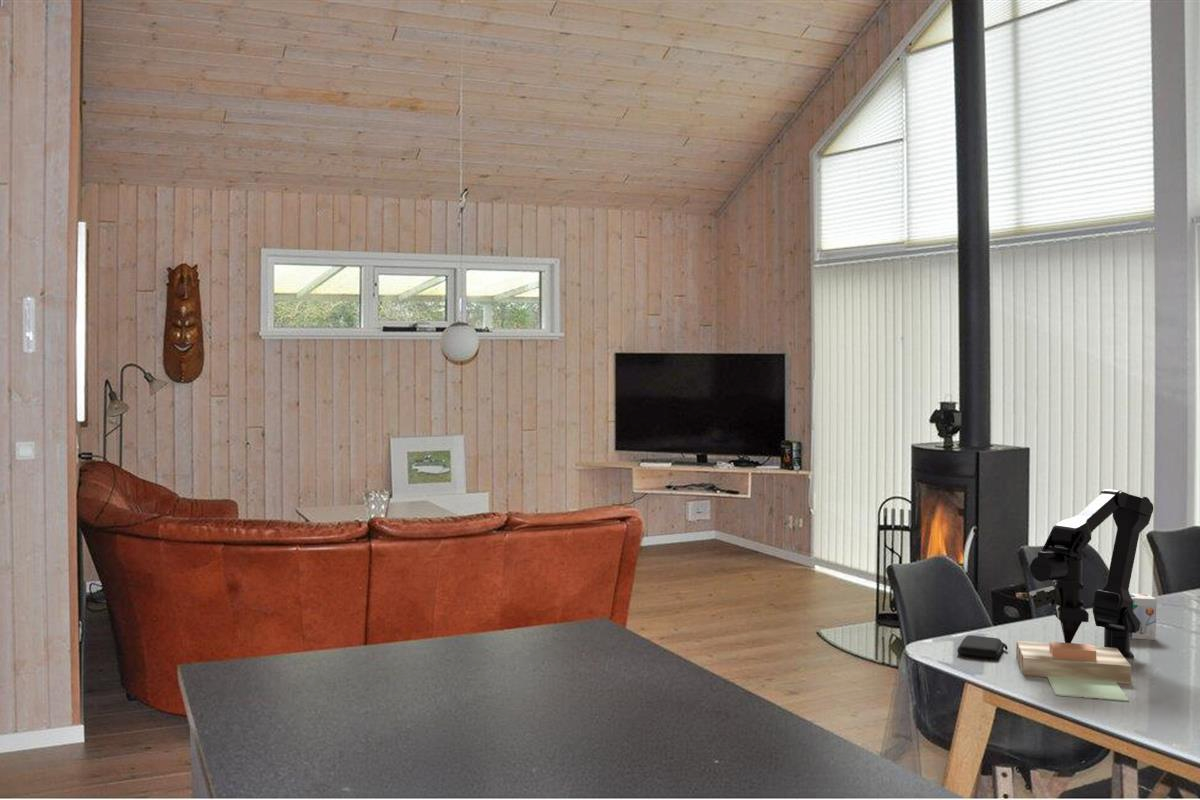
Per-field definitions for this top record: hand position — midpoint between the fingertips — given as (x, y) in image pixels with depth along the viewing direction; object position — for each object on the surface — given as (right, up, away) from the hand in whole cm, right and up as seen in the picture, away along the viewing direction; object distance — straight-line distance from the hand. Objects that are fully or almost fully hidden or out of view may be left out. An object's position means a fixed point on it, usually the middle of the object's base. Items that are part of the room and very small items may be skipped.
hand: (1067, 643), depth 241 cm
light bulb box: (+29, -5, +27) cm, 40 cm away
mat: (-5, -5, -20) cm, 21 cm away
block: (-2, -1, -7) cm, 7 cm away
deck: (-1, -5, -5) cm, 7 cm away
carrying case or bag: (-16, -5, +10) cm, 20 cm away
